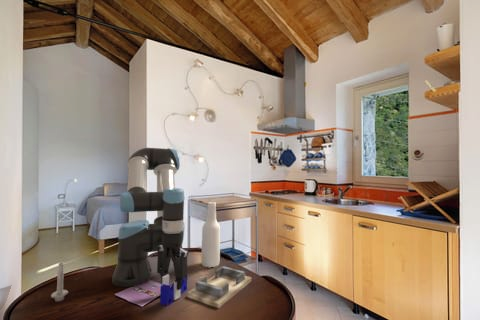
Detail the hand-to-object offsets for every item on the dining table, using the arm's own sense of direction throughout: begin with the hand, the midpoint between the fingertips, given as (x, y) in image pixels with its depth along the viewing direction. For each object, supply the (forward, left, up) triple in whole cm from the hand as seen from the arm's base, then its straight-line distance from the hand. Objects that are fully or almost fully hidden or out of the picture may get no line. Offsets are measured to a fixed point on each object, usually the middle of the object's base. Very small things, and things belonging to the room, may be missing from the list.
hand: (171, 295), depth 91 cm
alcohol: (-6, +32, -1) cm, 33 cm away
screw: (-31, -22, -1) cm, 38 cm away
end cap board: (+12, +15, 0) cm, 19 cm away
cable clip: (0, +1, -1) cm, 1 cm away
